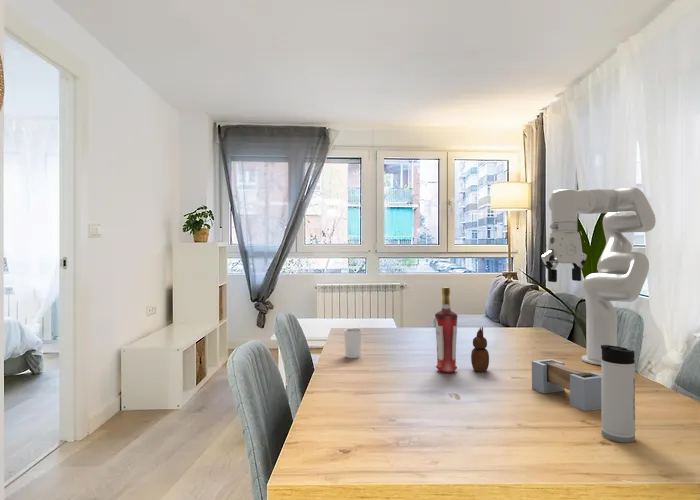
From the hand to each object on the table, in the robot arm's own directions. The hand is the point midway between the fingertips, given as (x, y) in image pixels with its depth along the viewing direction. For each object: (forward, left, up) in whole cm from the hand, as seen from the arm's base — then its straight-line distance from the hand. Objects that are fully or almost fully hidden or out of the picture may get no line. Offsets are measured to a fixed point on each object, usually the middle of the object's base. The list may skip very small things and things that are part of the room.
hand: (564, 281), depth 143 cm
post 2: (+16, +25, -30) cm, 42 cm away
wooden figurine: (+23, -13, -30) cm, 40 cm away
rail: (+16, +17, -27) cm, 36 cm away
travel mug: (+25, +41, -30) cm, 57 cm away
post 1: (+16, +10, -30) cm, 36 cm away
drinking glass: (+57, -46, -30) cm, 79 cm away
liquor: (+34, -16, -30) cm, 48 cm away
